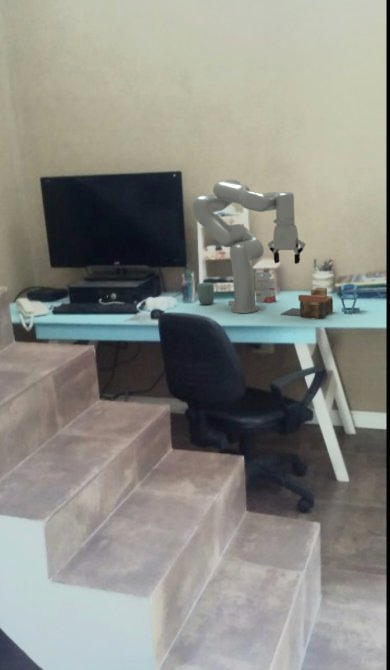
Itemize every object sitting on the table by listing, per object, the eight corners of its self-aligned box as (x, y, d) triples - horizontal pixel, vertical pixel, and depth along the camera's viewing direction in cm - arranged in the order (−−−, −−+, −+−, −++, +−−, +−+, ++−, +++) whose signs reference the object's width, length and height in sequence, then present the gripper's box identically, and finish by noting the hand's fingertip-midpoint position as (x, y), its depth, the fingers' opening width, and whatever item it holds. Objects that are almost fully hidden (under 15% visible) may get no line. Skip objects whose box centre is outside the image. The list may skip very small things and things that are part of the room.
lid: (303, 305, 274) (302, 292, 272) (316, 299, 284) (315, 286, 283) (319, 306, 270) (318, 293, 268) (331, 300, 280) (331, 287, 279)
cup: (217, 302, 317) (216, 282, 315) (209, 306, 311) (207, 285, 309) (204, 301, 322) (202, 282, 319) (195, 305, 315) (194, 285, 313)
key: (298, 300, 275) (298, 295, 274) (300, 300, 276) (300, 294, 276) (324, 302, 268) (324, 296, 268) (326, 301, 270) (326, 296, 269)
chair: (339, 314, 277) (338, 286, 274) (341, 309, 284) (341, 282, 281) (357, 314, 274) (357, 286, 271) (359, 309, 282) (359, 282, 279)
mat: (280, 314, 283) (280, 313, 283) (292, 308, 293) (292, 308, 292) (301, 316, 277) (301, 315, 277) (312, 310, 287) (312, 309, 287)
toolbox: (300, 317, 276) (299, 301, 274) (313, 310, 287) (313, 295, 285) (322, 319, 270) (322, 303, 268) (335, 311, 281) (335, 296, 279)
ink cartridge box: (276, 300, 312) (274, 270, 308) (271, 303, 308) (270, 272, 304) (260, 299, 316) (259, 270, 313) (255, 302, 313) (254, 272, 309)
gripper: (263, 223, 272) (264, 263, 277) (300, 223, 263) (301, 265, 267) (271, 221, 278) (272, 261, 283) (308, 221, 269) (309, 262, 273)
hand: (286, 262), depth 275 cm, fingers open, 9 cm apart
